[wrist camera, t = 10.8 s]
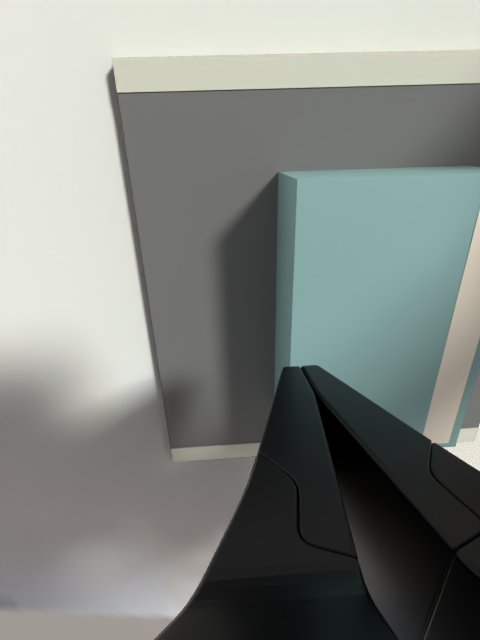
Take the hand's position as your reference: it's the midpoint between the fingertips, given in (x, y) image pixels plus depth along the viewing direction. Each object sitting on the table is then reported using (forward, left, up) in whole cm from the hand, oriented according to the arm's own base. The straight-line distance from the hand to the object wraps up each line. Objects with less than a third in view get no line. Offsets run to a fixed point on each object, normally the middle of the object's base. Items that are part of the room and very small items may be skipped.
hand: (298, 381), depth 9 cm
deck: (0, 0, -3) cm, 3 cm away
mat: (-3, 0, -5) cm, 6 cm away
